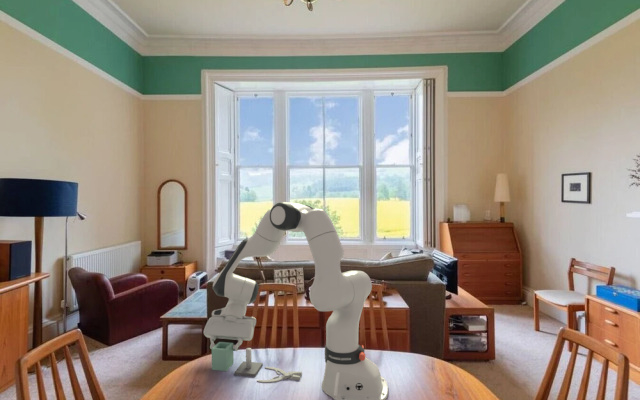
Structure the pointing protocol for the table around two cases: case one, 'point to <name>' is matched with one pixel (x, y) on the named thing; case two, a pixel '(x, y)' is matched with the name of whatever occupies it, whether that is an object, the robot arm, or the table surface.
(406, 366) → the table surface
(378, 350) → the table surface
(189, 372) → the table surface
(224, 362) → the sleeve
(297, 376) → the pliers
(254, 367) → the post stand
